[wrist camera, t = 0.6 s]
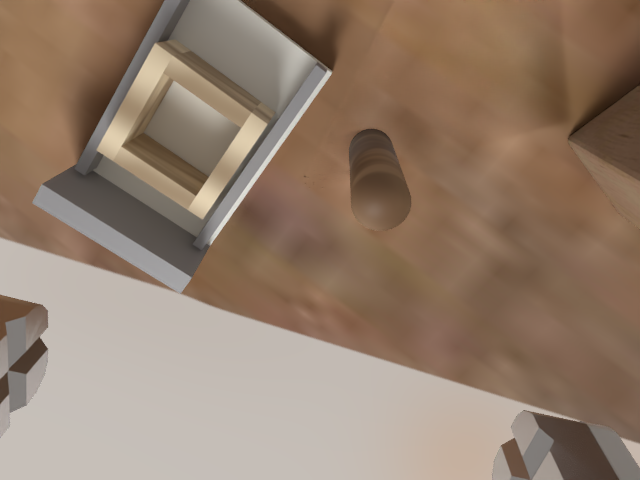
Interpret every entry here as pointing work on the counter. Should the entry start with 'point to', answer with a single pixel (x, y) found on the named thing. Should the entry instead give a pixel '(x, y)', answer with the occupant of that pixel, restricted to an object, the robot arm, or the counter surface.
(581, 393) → the counter surface
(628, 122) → the wooden block
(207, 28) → the rail base
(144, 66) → the socket block
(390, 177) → the dowel
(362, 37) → the counter surface
